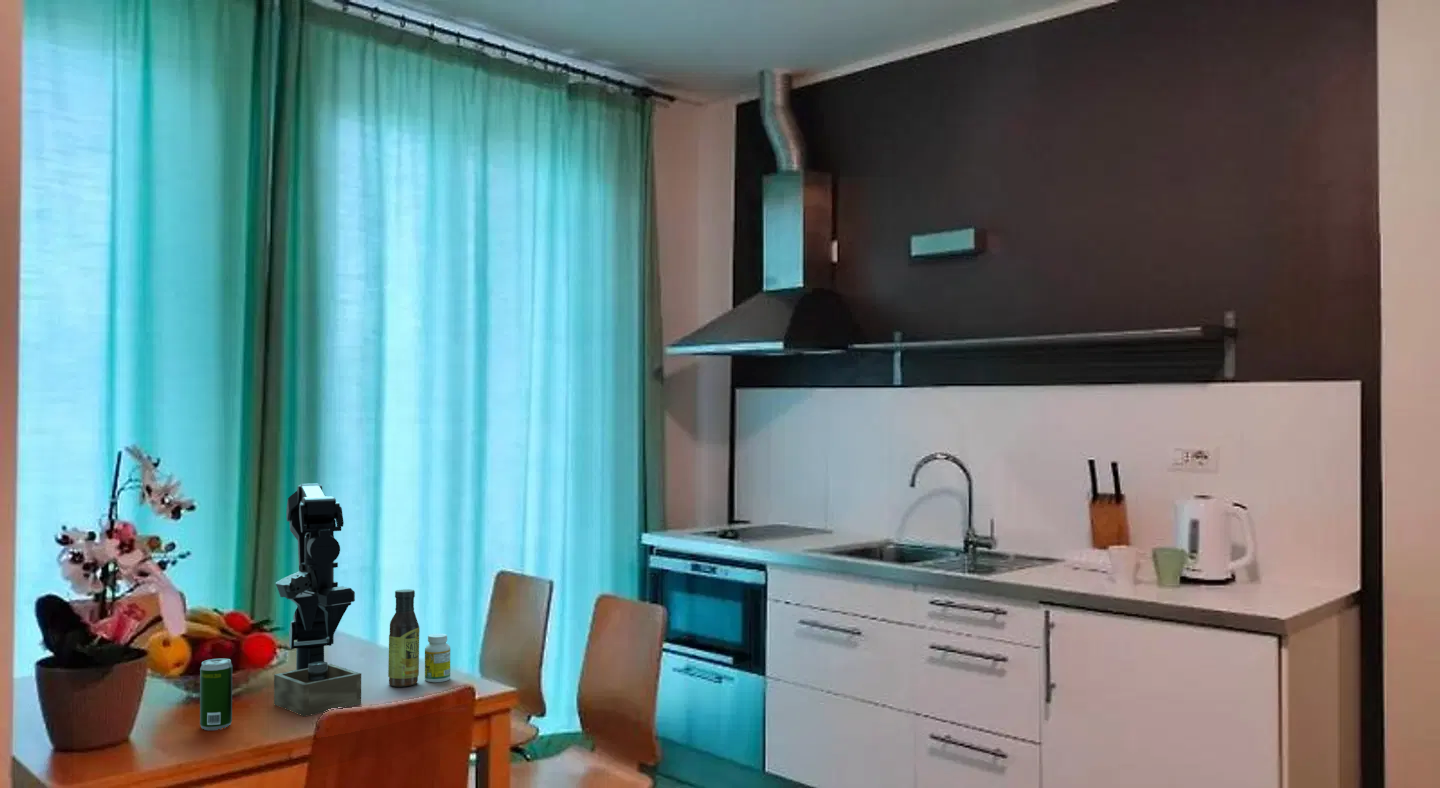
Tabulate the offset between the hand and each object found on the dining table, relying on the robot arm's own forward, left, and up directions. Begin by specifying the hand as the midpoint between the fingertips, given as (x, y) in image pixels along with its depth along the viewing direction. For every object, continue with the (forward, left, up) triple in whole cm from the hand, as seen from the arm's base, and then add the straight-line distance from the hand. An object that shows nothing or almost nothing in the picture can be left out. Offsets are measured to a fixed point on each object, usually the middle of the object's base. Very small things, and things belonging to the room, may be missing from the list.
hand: (318, 633), depth 228 cm
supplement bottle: (+10, +22, -12) cm, 27 cm away
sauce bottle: (+8, +15, -12) cm, 21 cm away
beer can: (+9, -25, -12) cm, 29 cm away
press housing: (+9, -5, -12) cm, 16 cm away
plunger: (+9, -5, -11) cm, 15 cm away
